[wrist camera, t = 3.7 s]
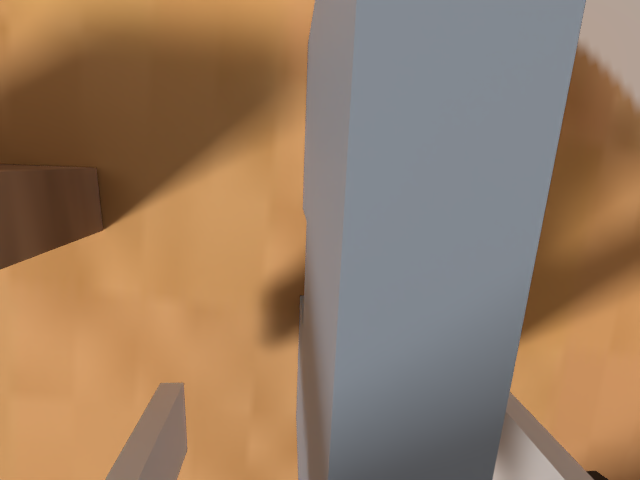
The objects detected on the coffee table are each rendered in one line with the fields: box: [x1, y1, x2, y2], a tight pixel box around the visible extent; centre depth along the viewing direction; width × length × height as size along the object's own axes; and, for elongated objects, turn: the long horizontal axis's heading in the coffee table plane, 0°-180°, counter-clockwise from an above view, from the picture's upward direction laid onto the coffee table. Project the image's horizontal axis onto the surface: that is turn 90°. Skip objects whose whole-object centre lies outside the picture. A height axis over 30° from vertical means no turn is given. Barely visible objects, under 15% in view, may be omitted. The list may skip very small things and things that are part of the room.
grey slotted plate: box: [296, 0, 586, 480], centre depth 9 cm, size 2×16×10 cm, turn 178°
